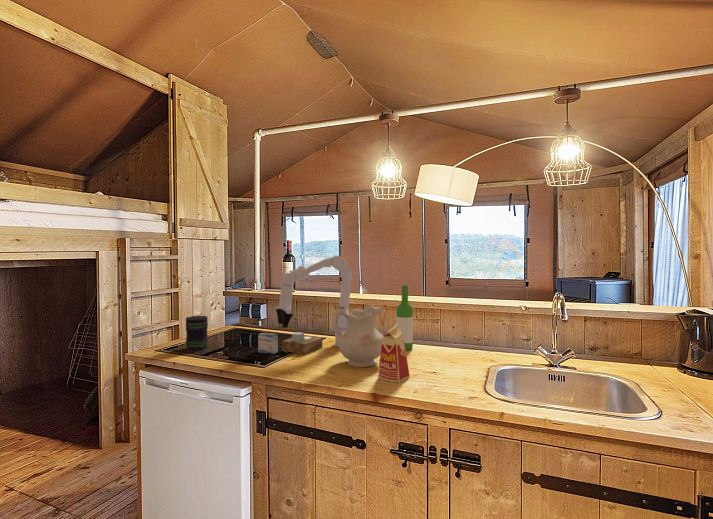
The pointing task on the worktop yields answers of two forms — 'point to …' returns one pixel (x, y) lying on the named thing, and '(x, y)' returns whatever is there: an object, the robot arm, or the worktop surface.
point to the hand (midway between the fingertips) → (282, 325)
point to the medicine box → (267, 343)
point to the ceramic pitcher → (359, 336)
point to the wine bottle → (405, 319)
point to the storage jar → (196, 333)
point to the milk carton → (393, 357)
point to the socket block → (302, 345)
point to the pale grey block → (297, 337)
